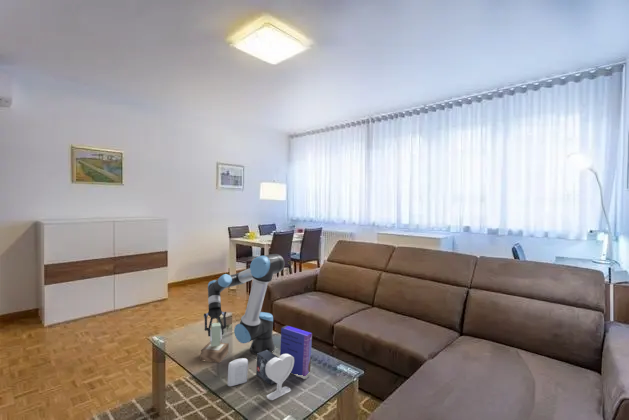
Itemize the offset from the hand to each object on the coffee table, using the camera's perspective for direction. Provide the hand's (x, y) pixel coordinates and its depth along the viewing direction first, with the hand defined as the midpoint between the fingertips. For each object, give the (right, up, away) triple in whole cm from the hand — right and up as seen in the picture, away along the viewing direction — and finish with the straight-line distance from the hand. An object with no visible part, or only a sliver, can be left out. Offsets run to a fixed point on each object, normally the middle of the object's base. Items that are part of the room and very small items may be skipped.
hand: (216, 340), depth 186 cm
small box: (+33, -14, -16) cm, 39 cm away
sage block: (-2, -4, +4) cm, 5 cm away
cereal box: (+47, -14, -10) cm, 50 cm away
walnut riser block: (-2, -11, +4) cm, 12 cm away
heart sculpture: (+40, -14, -29) cm, 51 cm away
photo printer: (+18, -13, -22) cm, 31 cm away
